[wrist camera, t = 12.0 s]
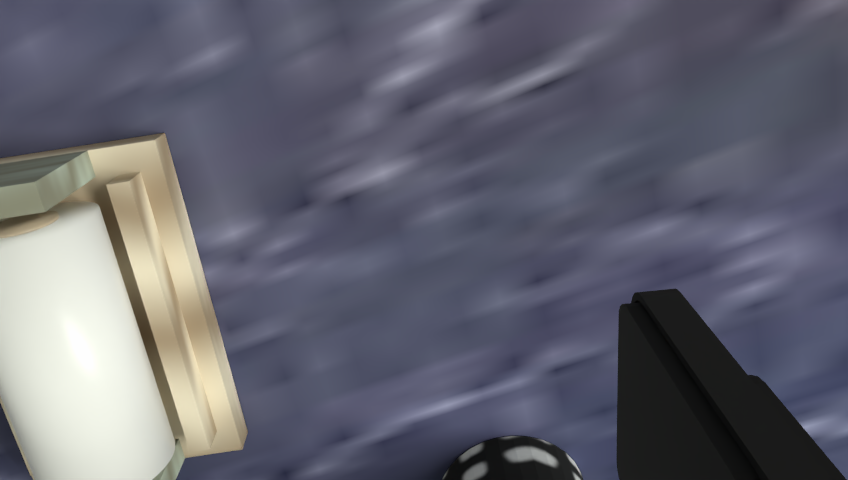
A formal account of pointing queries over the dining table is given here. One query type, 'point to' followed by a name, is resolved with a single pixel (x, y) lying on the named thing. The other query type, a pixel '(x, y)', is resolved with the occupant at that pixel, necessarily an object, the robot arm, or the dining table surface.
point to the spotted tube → (514, 461)
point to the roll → (75, 352)
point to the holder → (146, 276)
